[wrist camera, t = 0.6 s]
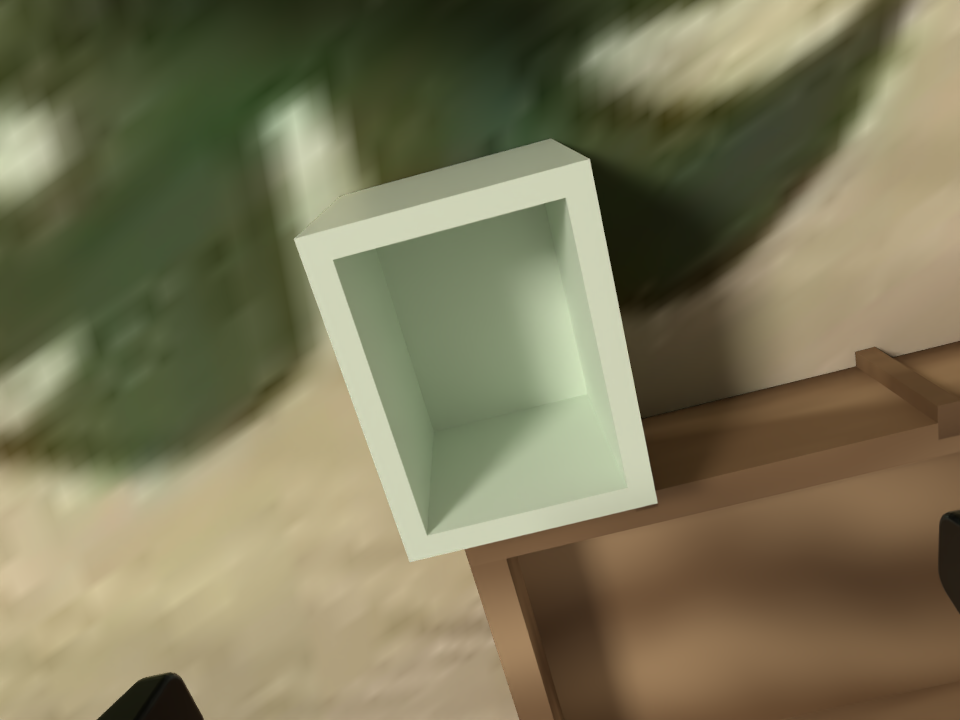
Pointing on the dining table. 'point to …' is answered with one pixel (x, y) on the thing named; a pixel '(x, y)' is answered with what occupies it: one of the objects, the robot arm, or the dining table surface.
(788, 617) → the crate
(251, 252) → the dining table surface
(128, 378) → the dining table surface
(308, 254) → the small crate
